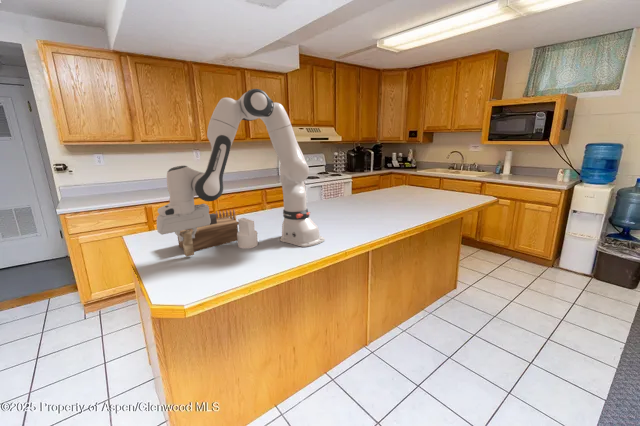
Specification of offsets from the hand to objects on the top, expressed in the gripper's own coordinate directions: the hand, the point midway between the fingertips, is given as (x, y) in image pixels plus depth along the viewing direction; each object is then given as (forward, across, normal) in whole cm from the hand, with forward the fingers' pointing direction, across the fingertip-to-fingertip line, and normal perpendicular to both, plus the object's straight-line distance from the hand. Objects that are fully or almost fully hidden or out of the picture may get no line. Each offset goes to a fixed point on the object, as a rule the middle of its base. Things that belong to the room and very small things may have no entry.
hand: (187, 239), depth 121 cm
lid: (0, -13, -11) cm, 17 cm away
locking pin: (+7, 0, 0) cm, 7 cm away
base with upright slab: (+8, -25, +4) cm, 27 cm away
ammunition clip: (+8, -27, -22) cm, 36 cm away
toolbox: (+8, -13, -11) cm, 19 cm away
